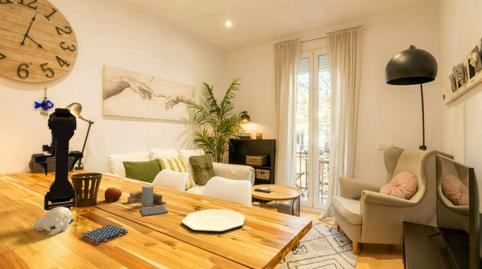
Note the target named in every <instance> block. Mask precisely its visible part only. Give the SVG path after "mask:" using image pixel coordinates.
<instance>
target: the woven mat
mask: <svg viewBox="0 0 482 269" xmlns="http://www.w3.org/2000/svg"><path fill="white" fill-rule="evenodd" d="M128 234H129V230H128V229H126V228H125V227H124V228H123V227H120V226H116V225H113V224H107V225H105V226H102V227H97V229H92V230H91V231H90V230H88V231H87V232H82V235H81V237H80V238H81V239H85V240H86V241H89V242H90V243H94V244H97V245H98V246H99V245H100V246H101V245H103V244H104V243H107V242H110V241H112V240H115V239H118V238H120V237H123V236H126V235H128Z"/></svg>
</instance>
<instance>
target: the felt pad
mask: <svg viewBox="0 0 482 269" xmlns="http://www.w3.org/2000/svg"><path fill="white" fill-rule="evenodd" d="M139 211H140V212H141V214H142V217H149V216H156V215H162V214H163V215H165V214H168V213H169V211H168V210H167V209H166V207H165V206H164V205H157V206H149V207H143V208H139Z"/></svg>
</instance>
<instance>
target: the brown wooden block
mask: <svg viewBox="0 0 482 269" xmlns="http://www.w3.org/2000/svg"><path fill="white" fill-rule="evenodd" d="M165 204H167V202H166V201H163V195H162V194H159V193H155V192H153V205H157V206H163V205H165Z"/></svg>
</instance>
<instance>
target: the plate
mask: <svg viewBox="0 0 482 269" xmlns="http://www.w3.org/2000/svg"><path fill="white" fill-rule="evenodd" d="M245 219H246V216H245V215H243V214H241V213H238V212H236V211H234V210H230V209H215V208H214V209H204V210H200V211H195V212H191V213H190V212H189V213H188V214H187V215H186V216H185V217H184V218H183V219H182V220H181V224H182V225H184V226H186V227H187V228H189V229H190V230H192V231H196V232H210V233H211V232H213V233H222V232H226V231H229V230H233V229H236V228H239V227H240V228H241V227H243V225H244V223H245Z"/></svg>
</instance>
